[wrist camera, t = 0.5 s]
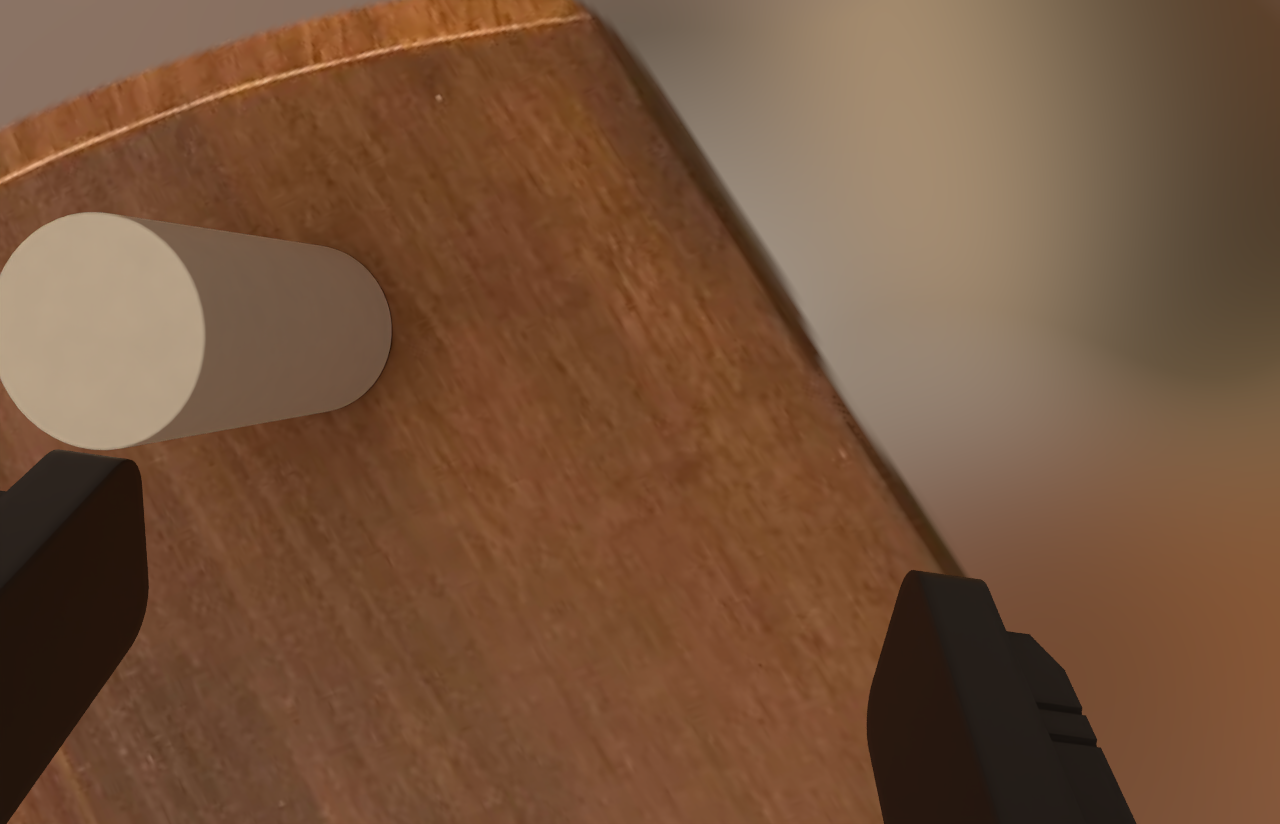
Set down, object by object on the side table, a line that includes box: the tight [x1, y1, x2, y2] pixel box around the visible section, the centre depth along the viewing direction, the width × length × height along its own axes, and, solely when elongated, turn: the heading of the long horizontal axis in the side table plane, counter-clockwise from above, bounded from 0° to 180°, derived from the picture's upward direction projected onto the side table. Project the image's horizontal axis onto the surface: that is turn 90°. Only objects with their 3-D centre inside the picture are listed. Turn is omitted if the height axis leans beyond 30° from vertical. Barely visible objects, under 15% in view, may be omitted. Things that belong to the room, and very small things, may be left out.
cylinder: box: [0, 212, 392, 450], centre depth 25 cm, size 4×4×9 cm
